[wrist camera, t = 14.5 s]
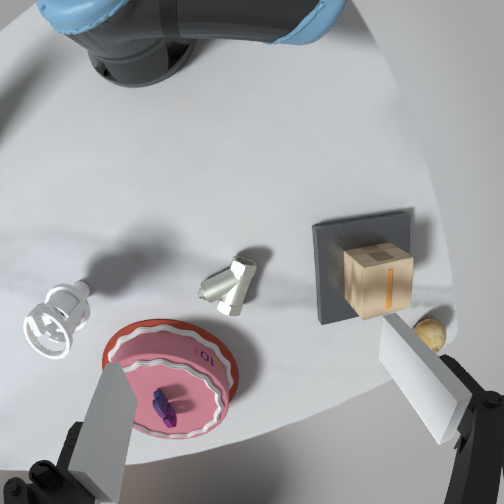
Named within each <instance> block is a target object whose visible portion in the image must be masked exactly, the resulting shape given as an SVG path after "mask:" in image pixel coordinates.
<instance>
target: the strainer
mask: <svg viewBox="0 0 504 504" xmlns="http://www.w3.org/2000/svg"><path fill="white" fill-rule="evenodd" d="M55 291H57V292H56V293H55V294H54V295H53V296H52V294H53V292H55ZM89 294H90V289H89V287H88V285H87V284H86V283H84V282H82V281H78V282H76V283H75V284H74V285H73V286H72V285H69V284H59V285H56V286H55V287H53V288H52V289H51V290H50V292H49V293H48V294H47V297H46V304H44V303H40V304H38V305H37V306H36V307H35V308H34V309H33V310H32V311H31V312H30V313H29V314H28V315H27V316H26V317H25V319H24V323H23V329H24V333H25V336H26V338H27V340H28V342H29V343H30V345H31V346H32V347H33V348H34V349H35V350H36V351H37V352H38V353H40V354H41V355H43V356H45V357H47V358H50V359H61V358H63V357H65V356H66V355H67V353H68V352H69V350H70V348H71V346H72V342H73V339H72V334H73V333H74V331H75V330H79V329H81V328H82V327H83V326H84V325H85V324H86V322H87V320H88V319H89V315H90V307H89V304H88V301H87V298H88V296H89ZM83 317H84V320H83V321H82V322H81V320H82V319H83ZM80 322H81V323H80ZM30 327H31V328H30ZM31 329H32V331H31ZM60 331H62V332H63V333H60ZM45 332H46V333H48V334H49V335H50V336H49V337H48V339H49V340H51V341H53V342H56V343H64V342H66V348H65V349H64V350H62V351H51V350H48V349H46V348H45V347H43V346H42V345H41V344H40V343H39V342H38V341H37V340H36V339H37V337H38V336H42V335H43V334H44V333H45Z"/></svg>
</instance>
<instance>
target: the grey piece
mask: <svg viewBox="0 0 504 504" xmlns="http://www.w3.org/2000/svg"><path fill="white" fill-rule="evenodd" d="M312 231H313V244H314V257H315V272H316V288H317V307H318V320H319V321H320V323H321V325H324V324H329V323H333V322H338V321H342V320H346V319H350V318H354V317H358V316H359V315H358V314H357V312H356V311H355V310H354V309H353V308H352V306H351V305H350V304H349V303H348V301H347V300H346V299H345V270H344V251H346V250H351V249H356V248H362V247H367V246H373V245H378V244H383V243H388V242H390V243H392V244H393V245H395V246H397V247H398V248H400V249H401V250H403V251H405V252H406V253H408V254H409V247H410V214H407V213H405V212H399V213H393V214H386V215H379V216H372V217H366V218H359V219H352V220H346V221H339V222H333V223H326V224H320V225H314V226H312Z"/></svg>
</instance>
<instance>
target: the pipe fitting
mask: <svg viewBox="0 0 504 504" xmlns="http://www.w3.org/2000/svg"><path fill="white" fill-rule="evenodd" d="M256 269H257V264H256V263H255V262H254V261H252V260H250V259H248V258H245V257H241V256H234V257H233V260H232V263H231V266H230V269H228V270H226V271H224V272H222V273H219V274H217V275H215V276H213V277H211V278H209V279H207V280H205V281H203V282H201V288H200V289H199V292H198V296H199V298H200V299H201V298H203V299H204V300H208V301H209V302H214V301H216V300H218V299H219V302H218V310H220V311H221V312H222V313H224V314H227V315H231V316H237V315H240V313H241V310H242V306H243V301H244V298H245V295H246V292H247V290H248V287H249V284H250V281H251V279H252V277H253V276H254V274H255V271H256Z"/></svg>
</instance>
